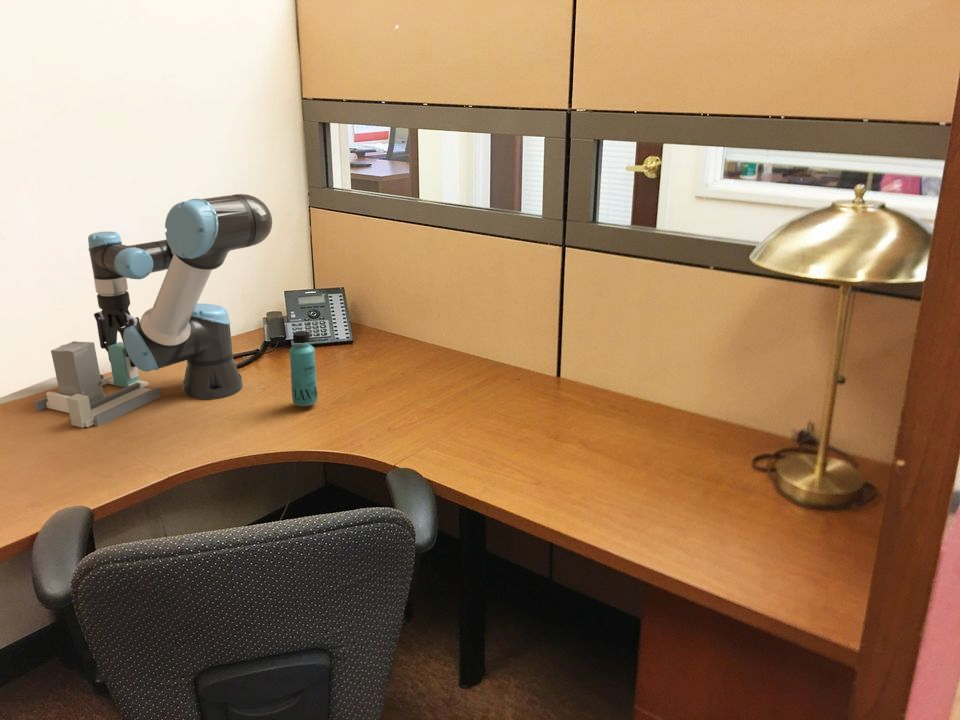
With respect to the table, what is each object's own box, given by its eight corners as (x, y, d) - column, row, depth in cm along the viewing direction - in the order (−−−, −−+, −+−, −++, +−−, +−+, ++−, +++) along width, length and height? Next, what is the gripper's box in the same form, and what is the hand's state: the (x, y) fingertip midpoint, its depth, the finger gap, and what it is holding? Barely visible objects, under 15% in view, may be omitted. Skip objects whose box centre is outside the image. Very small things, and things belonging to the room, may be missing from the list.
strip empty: (156, 394, 199) (152, 369, 196) (85, 428, 179) (80, 401, 177) (141, 391, 201) (137, 366, 198) (69, 424, 181) (64, 397, 179)
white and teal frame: (148, 384, 205) (142, 346, 201) (79, 415, 186) (71, 374, 182) (117, 377, 209) (111, 340, 205) (46, 407, 190) (38, 366, 186)
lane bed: (161, 396, 198) (160, 387, 198) (98, 426, 181) (96, 417, 180) (101, 383, 206) (100, 374, 205) (36, 410, 189) (34, 401, 188)
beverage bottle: (287, 408, 193) (281, 334, 186) (302, 399, 199) (297, 327, 191) (309, 413, 190) (304, 338, 183) (323, 403, 196) (319, 330, 189)
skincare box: (84, 412, 189) (73, 352, 183) (59, 409, 190) (48, 349, 184) (106, 398, 196) (97, 341, 191) (82, 396, 198) (72, 338, 192)
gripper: (150, 293, 196) (161, 376, 204) (98, 284, 202) (111, 365, 211) (127, 300, 189) (140, 386, 198) (74, 291, 196) (89, 374, 204)
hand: (125, 375), depth 204 cm, fingers closed on white and teal frame, 5 cm apart
